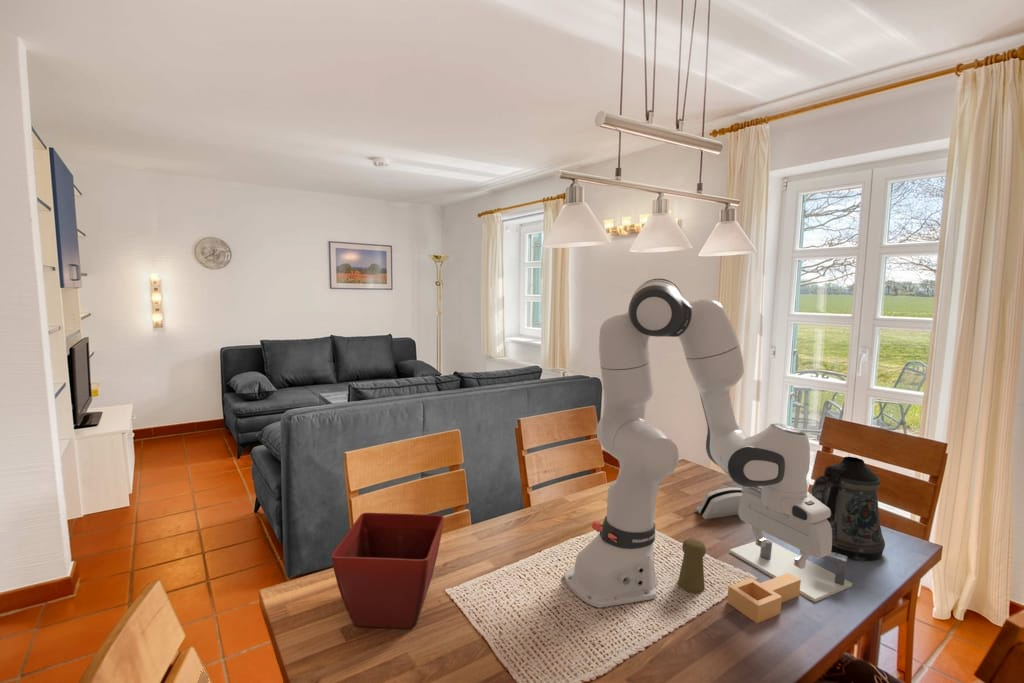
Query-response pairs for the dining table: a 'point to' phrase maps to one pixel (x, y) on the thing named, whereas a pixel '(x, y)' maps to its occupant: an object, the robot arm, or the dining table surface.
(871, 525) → the beer stein
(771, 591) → the link
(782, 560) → the board
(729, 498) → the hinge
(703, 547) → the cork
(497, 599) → the dining table surface
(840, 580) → the bracket
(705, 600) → the dining table surface
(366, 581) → the plant pot
